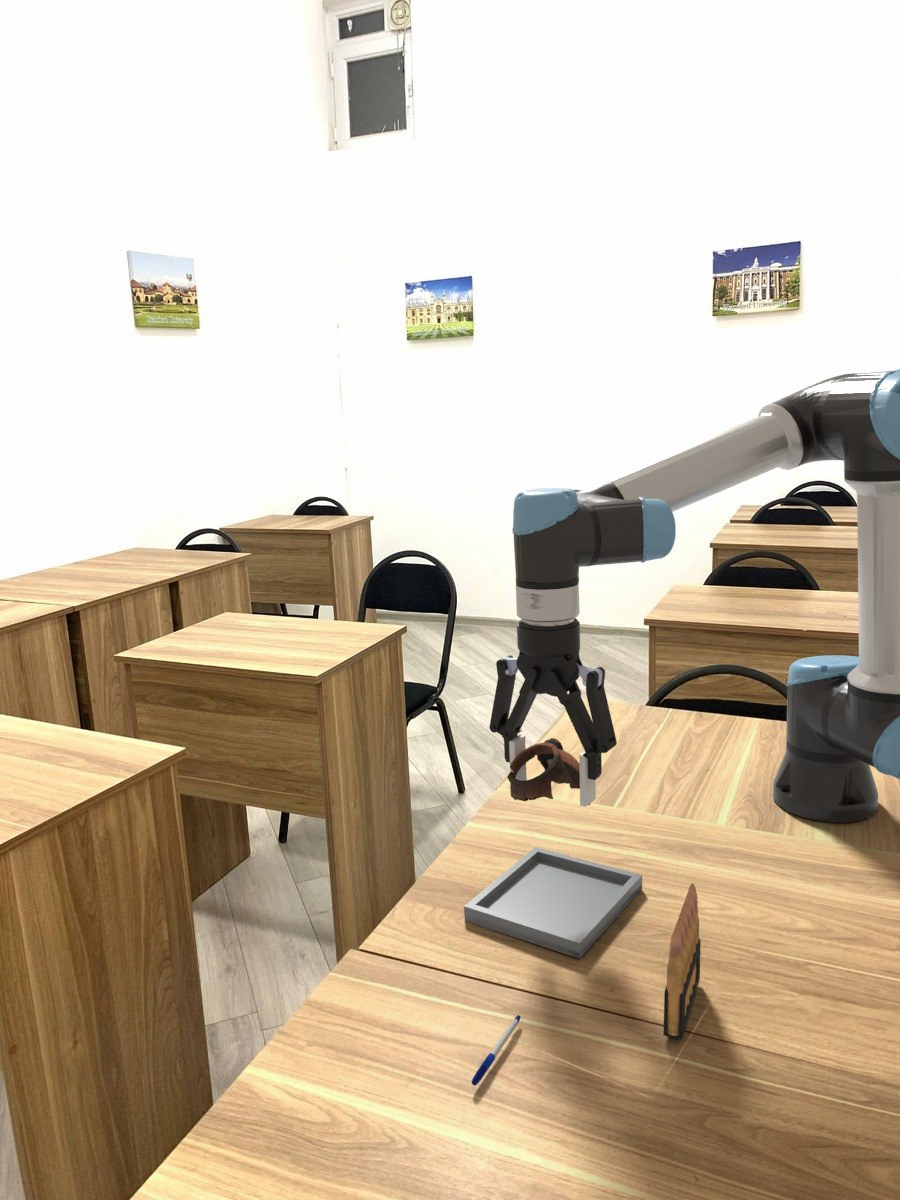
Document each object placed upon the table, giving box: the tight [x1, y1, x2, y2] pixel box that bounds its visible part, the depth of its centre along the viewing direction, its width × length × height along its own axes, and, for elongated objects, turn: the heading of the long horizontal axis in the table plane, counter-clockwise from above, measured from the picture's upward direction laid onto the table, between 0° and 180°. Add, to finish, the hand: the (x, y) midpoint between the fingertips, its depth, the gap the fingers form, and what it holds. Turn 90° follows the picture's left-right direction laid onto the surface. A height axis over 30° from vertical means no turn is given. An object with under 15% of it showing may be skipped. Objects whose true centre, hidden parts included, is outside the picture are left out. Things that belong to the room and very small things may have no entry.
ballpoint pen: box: [471, 1014, 521, 1086], centre depth 92 cm, size 10×1×1 cm, turn 153°
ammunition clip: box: [663, 883, 701, 1041], centre depth 96 cm, size 11×2×12 cm, turn 156°
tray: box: [463, 846, 643, 959], centre depth 118 cm, size 16×18×2 cm
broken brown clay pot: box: [506, 737, 592, 806], centre depth 115 cm, size 12×10×8 cm
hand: (552, 794), depth 115 cm, fingers closed on broken brown clay pot, 9 cm apart
